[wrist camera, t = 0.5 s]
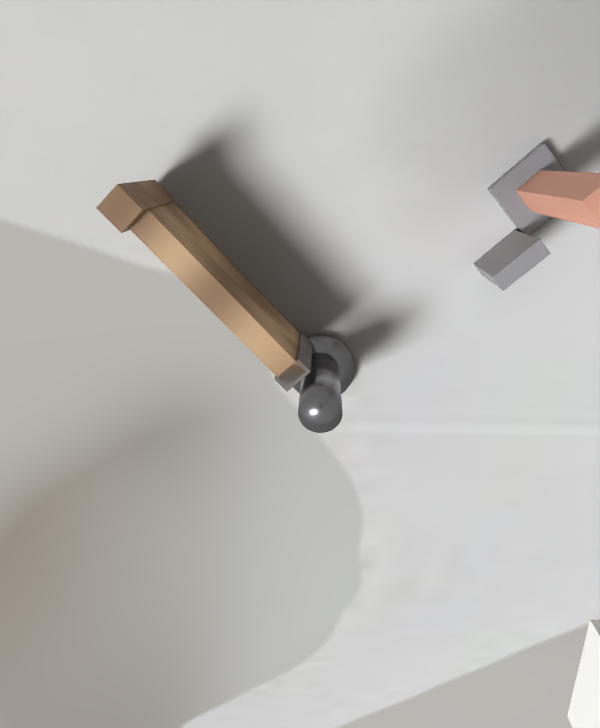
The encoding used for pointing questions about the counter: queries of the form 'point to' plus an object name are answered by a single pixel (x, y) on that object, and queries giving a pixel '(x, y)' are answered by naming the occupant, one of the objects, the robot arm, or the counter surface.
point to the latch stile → (537, 211)
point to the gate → (210, 276)
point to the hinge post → (325, 384)
